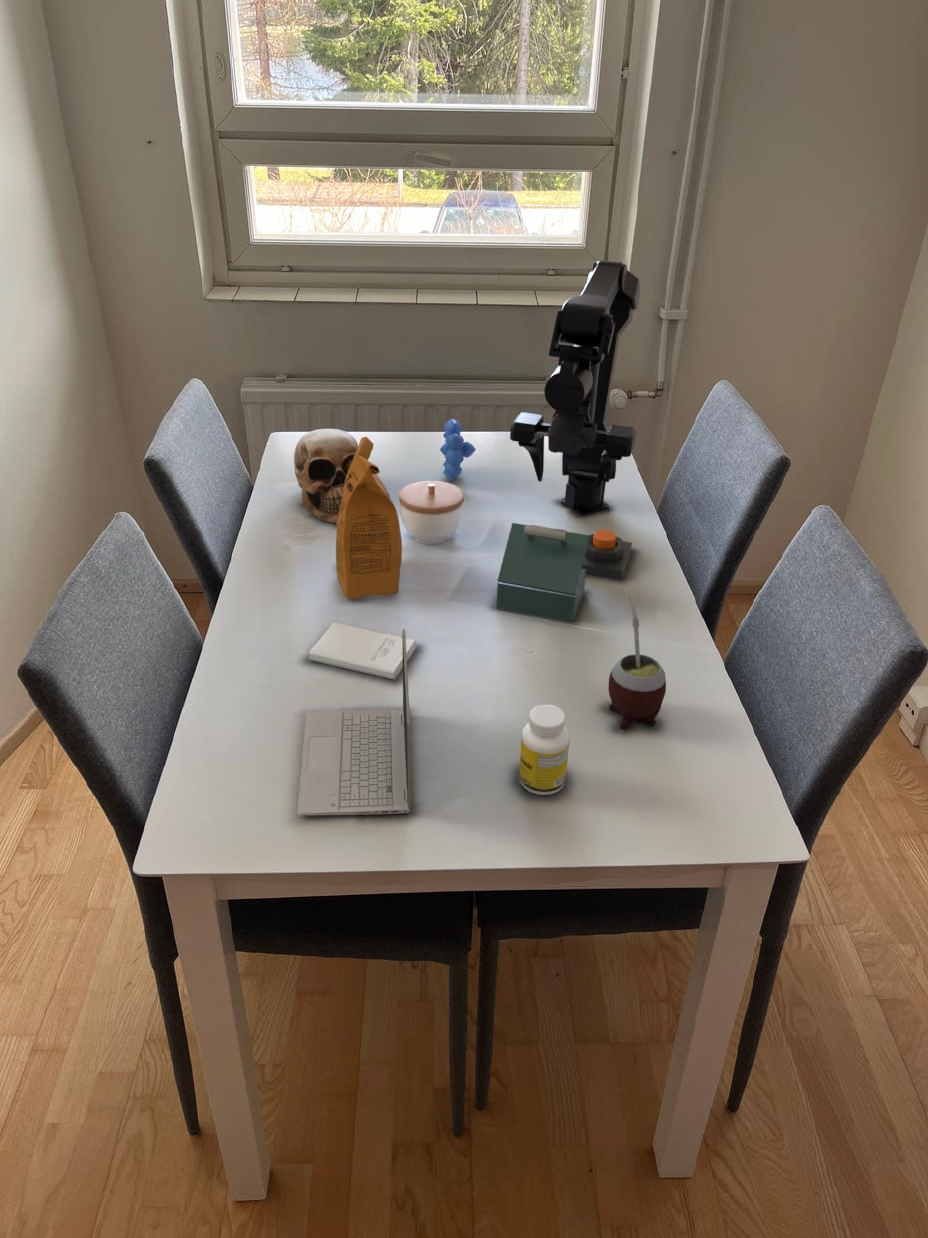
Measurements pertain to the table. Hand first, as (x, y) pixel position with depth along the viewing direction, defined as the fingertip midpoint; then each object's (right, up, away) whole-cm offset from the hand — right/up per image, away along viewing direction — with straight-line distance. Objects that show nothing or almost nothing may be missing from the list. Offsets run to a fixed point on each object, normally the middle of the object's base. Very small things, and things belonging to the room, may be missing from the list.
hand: (568, 484), depth 149 cm
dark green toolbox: (-5, -18, -6) cm, 20 cm away
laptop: (-29, -38, -38) cm, 61 cm away
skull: (-40, 0, +20) cm, 45 cm away
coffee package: (-31, -16, -3) cm, 35 cm away
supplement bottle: (-8, -40, -40) cm, 57 cm away
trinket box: (-22, -7, +10) cm, 25 cm away
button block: (+6, -12, +4) cm, 14 cm away
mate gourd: (+5, -34, -29) cm, 45 cm away
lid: (-5, -13, -11) cm, 17 cm away
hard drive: (-30, -26, -19) cm, 45 cm away
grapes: (-18, +5, +29) cm, 35 cm away
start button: (+6, -9, +2) cm, 11 cm away
